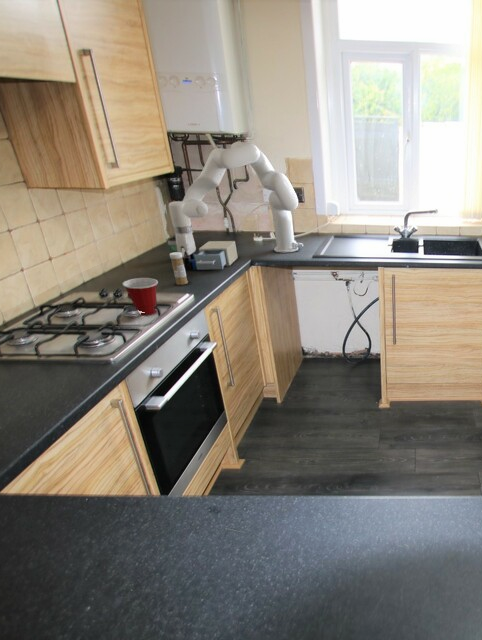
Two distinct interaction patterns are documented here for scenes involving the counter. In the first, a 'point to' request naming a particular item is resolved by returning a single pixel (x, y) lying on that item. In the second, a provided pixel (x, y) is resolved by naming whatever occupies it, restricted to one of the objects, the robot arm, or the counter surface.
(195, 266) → the blue cube
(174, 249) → the food container
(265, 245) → the counter surface
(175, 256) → the sprinkles bottle
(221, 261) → the grey drawer
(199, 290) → the counter surface
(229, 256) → the cream drawer box
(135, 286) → the plastic cup
